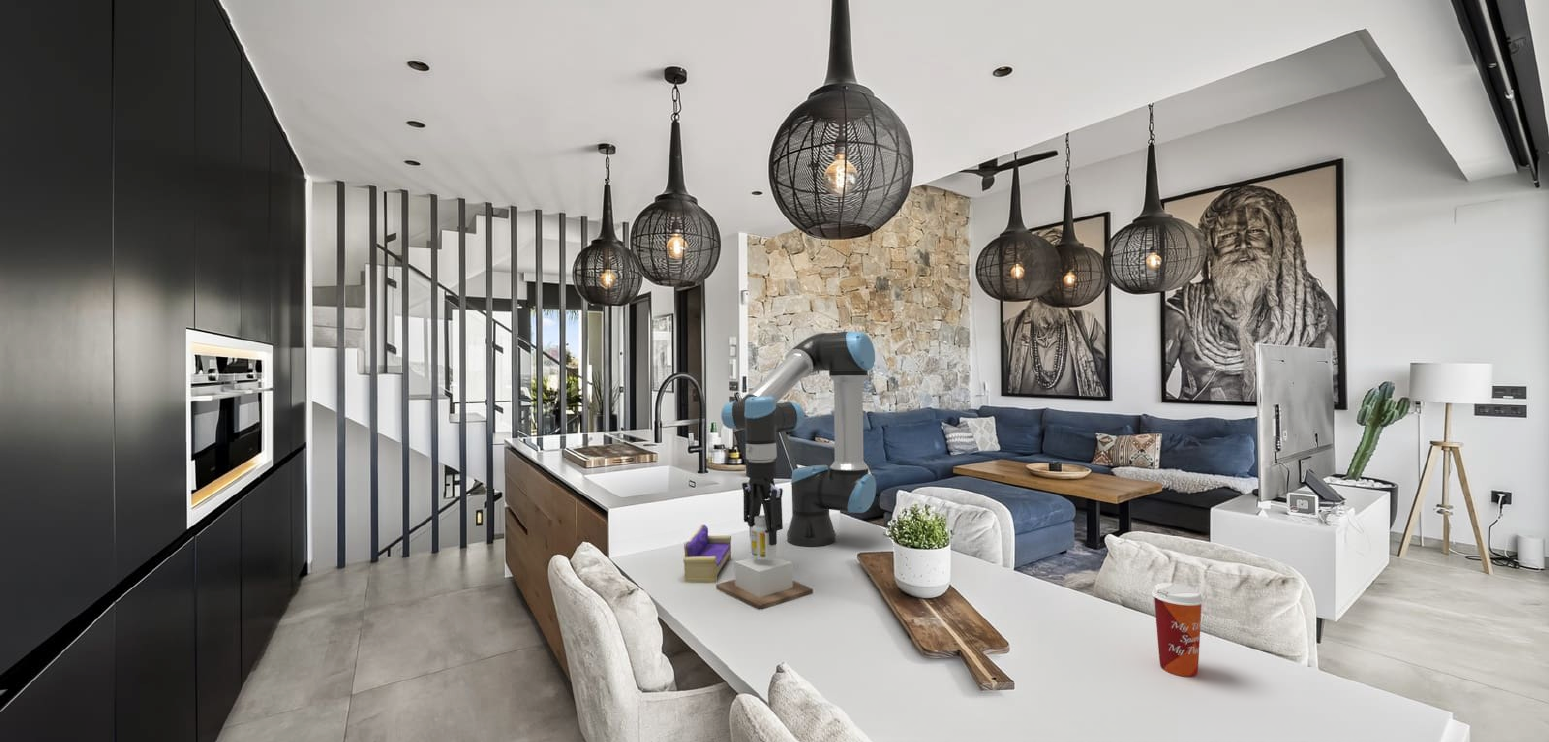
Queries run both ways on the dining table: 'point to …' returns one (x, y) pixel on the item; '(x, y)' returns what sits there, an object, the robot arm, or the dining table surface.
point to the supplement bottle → (759, 537)
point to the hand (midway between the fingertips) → (763, 555)
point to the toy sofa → (705, 556)
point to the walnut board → (767, 600)
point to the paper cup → (1178, 627)
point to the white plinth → (763, 575)
